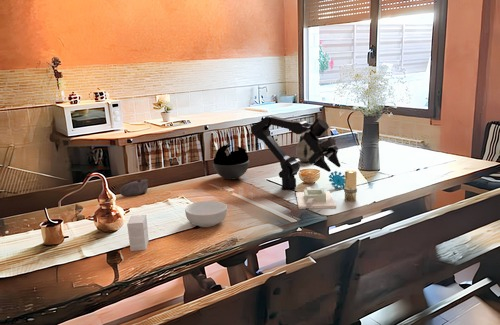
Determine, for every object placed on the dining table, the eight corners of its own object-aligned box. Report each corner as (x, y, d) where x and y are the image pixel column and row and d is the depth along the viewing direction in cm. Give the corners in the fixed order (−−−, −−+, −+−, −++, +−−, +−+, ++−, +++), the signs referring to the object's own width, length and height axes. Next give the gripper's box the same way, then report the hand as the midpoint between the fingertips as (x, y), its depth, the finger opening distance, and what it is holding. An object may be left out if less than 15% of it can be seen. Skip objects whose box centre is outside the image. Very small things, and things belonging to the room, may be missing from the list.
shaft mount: (298, 209, 186) (298, 200, 185) (295, 193, 208) (295, 185, 207) (336, 208, 186) (336, 199, 185) (329, 192, 208) (329, 184, 207)
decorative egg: (296, 159, 273) (295, 136, 269) (315, 159, 271) (315, 136, 268) (295, 164, 262) (295, 140, 258) (315, 164, 260) (315, 139, 256)
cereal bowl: (211, 234, 164) (209, 217, 163) (177, 227, 173) (176, 210, 171) (235, 219, 178) (235, 203, 177) (203, 213, 187) (202, 198, 185)
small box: (133, 242, 161) (130, 215, 158) (149, 240, 161) (146, 214, 159) (130, 251, 153) (126, 223, 151) (146, 250, 154) (143, 222, 151)
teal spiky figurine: (333, 188, 208) (327, 170, 213) (327, 193, 213) (322, 176, 218) (352, 187, 212) (347, 170, 217) (347, 193, 217) (341, 176, 222)
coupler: (345, 201, 193) (345, 173, 190) (343, 197, 199) (343, 170, 196) (357, 201, 193) (358, 173, 190) (355, 197, 199) (355, 170, 195)
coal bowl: (208, 177, 243) (206, 144, 238) (241, 171, 250) (240, 140, 246) (220, 186, 225) (218, 150, 220) (256, 180, 232) (254, 146, 228)
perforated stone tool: (121, 198, 212) (119, 185, 210) (118, 196, 216) (117, 182, 215) (151, 193, 218) (149, 180, 217) (148, 190, 223) (147, 177, 221)
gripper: (314, 135, 190) (336, 162, 186) (334, 128, 204) (356, 154, 200) (299, 150, 197) (320, 177, 193) (320, 143, 211) (340, 168, 206)
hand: (335, 169), depth 198 cm, fingers open, 9 cm apart
